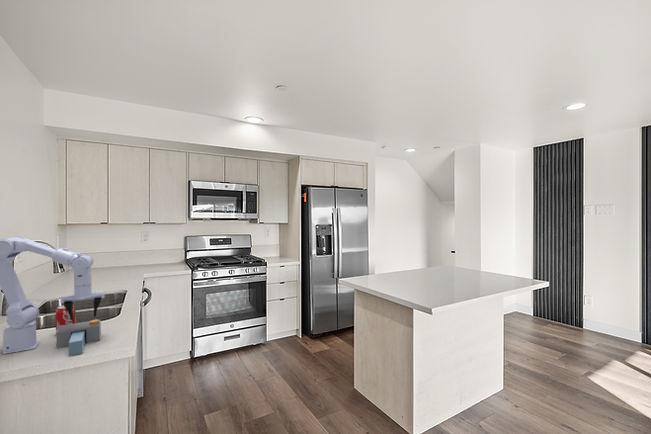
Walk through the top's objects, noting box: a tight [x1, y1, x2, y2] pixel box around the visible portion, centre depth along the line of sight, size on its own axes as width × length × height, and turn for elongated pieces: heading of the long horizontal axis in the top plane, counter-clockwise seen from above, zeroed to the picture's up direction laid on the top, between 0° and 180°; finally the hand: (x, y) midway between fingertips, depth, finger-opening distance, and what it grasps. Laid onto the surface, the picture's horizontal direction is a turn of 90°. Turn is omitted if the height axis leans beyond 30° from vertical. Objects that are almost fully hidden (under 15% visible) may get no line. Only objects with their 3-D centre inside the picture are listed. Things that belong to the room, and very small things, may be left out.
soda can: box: [54, 304, 77, 333], centre depth 145 cm, size 7×7×12 cm
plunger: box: [89, 318, 100, 325], centre depth 141 cm, size 3×3×5 cm
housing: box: [55, 319, 102, 349], centre depth 138 cm, size 14×9×6 cm, turn 122°
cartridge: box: [68, 330, 86, 357], centre depth 130 cm, size 4×13×5 cm, turn 32°
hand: (83, 317), depth 136 cm, fingers open, 7 cm apart
